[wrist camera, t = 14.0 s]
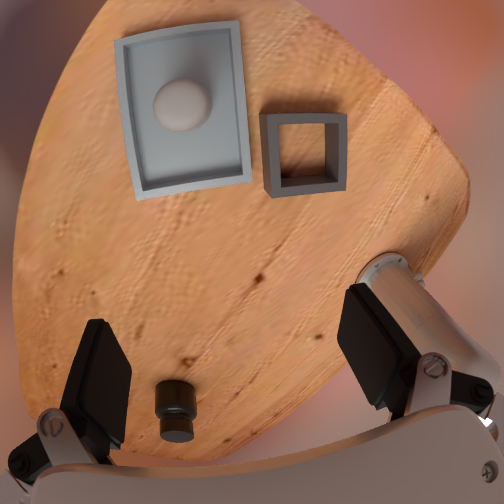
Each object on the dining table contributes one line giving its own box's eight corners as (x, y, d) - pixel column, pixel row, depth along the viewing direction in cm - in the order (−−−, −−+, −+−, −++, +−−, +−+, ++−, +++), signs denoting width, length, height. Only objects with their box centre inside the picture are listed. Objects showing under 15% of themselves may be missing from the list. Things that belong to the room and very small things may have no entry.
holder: (332, 112, 32) (346, 114, 29) (332, 182, 37) (345, 190, 34) (258, 114, 31) (266, 114, 28) (264, 188, 36) (271, 198, 33)
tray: (235, 27, 25) (238, 20, 22) (248, 176, 35) (252, 182, 32) (120, 45, 23) (114, 40, 21) (140, 193, 33) (136, 200, 31)
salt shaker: (213, 84, 28) (223, 68, 17) (209, 130, 30) (217, 142, 19) (163, 84, 26) (143, 69, 15) (160, 130, 29) (139, 142, 18)
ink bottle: (164, 402, 56) (165, 446, 46) (146, 383, 52) (144, 431, 41) (202, 395, 57) (207, 441, 46) (188, 375, 52) (191, 425, 42)
